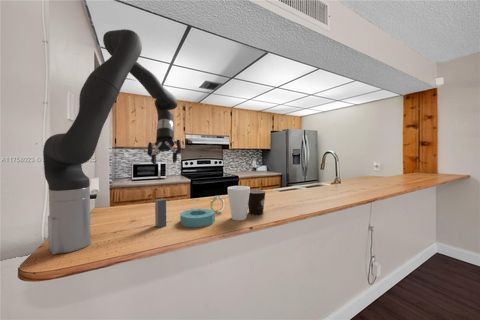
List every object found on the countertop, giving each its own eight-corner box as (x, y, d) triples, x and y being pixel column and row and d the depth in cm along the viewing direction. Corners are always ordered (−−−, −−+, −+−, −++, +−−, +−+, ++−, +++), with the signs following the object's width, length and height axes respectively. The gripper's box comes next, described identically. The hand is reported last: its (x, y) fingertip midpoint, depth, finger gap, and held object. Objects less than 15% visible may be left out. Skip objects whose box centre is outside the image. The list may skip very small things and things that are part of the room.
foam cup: (254, 218, 87) (254, 187, 87) (238, 223, 81) (238, 190, 81) (239, 213, 94) (239, 185, 94) (223, 217, 88) (223, 187, 88)
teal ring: (195, 229, 74) (194, 220, 74) (173, 222, 82) (173, 213, 82) (221, 220, 84) (221, 212, 84) (199, 214, 92) (199, 207, 92)
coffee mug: (253, 216, 89) (253, 193, 89) (243, 212, 96) (243, 190, 96) (274, 213, 94) (274, 191, 94) (263, 208, 102) (263, 188, 102)
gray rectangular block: (158, 227, 76) (157, 200, 76) (155, 225, 78) (155, 199, 78) (166, 225, 78) (166, 199, 78) (163, 224, 80) (163, 198, 80)
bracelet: (211, 214, 93) (211, 196, 93) (209, 212, 96) (209, 195, 95) (225, 212, 96) (225, 195, 96) (223, 210, 99) (223, 194, 98)
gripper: (146, 128, 92) (143, 161, 85) (178, 125, 93) (178, 157, 86) (152, 137, 99) (150, 168, 92) (182, 134, 100) (182, 164, 93)
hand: (164, 163), depth 89 cm, fingers open, 8 cm apart
